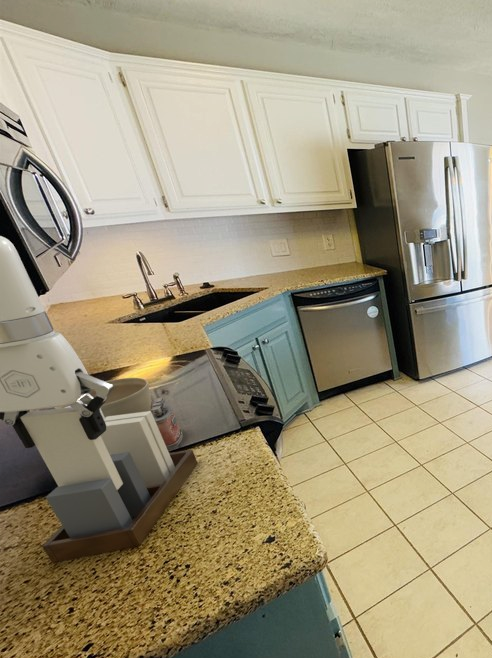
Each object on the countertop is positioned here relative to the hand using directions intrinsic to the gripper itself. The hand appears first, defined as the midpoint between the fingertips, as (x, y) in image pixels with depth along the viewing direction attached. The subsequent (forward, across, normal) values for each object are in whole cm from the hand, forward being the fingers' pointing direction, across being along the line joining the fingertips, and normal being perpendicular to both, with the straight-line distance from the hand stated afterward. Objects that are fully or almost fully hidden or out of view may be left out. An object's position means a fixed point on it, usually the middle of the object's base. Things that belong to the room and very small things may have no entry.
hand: (67, 438), depth 63 cm
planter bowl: (+19, -17, +37) cm, 45 cm away
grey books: (+18, +1, 0) cm, 18 cm away
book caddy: (+18, +1, +6) cm, 19 cm away
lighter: (+19, -3, +29) cm, 35 cm away
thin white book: (+10, 0, 0) cm, 10 cm away
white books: (+18, +1, +12) cm, 22 cm away
